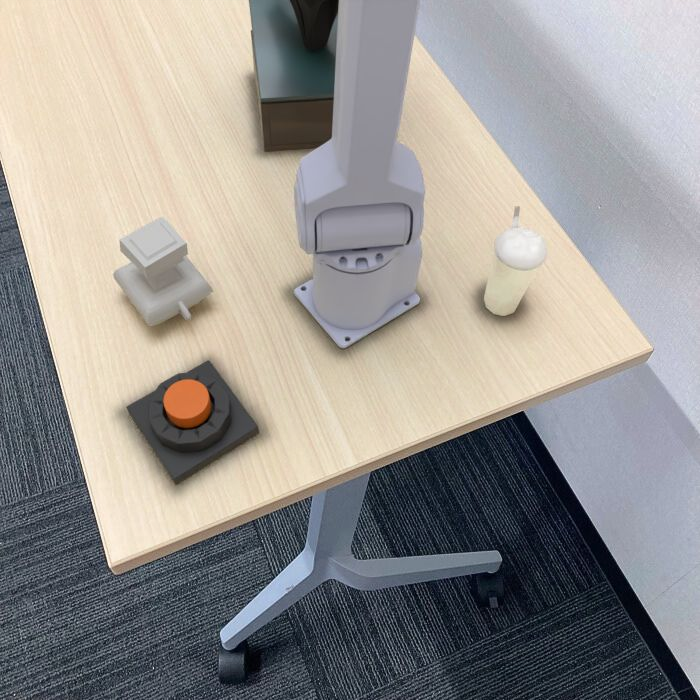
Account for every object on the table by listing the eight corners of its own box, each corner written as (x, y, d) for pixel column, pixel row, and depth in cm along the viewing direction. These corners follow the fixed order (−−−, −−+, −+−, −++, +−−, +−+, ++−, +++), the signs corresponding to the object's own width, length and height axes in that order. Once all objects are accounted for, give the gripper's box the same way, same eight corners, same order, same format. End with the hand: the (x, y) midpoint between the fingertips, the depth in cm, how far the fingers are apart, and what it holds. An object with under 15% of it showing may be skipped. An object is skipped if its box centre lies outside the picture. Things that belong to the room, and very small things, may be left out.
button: (197, 381, 60) (194, 371, 58) (220, 413, 58) (217, 403, 57) (158, 404, 58) (155, 393, 57) (181, 436, 57) (177, 427, 56)
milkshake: (515, 275, 71) (543, 204, 62) (529, 320, 68) (559, 252, 59) (470, 278, 70) (492, 207, 62) (482, 323, 67) (506, 255, 59)
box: (254, 78, 85) (250, 29, 80) (359, 71, 86) (362, 23, 81) (264, 151, 78) (260, 104, 73) (377, 143, 80) (381, 96, 74)
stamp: (112, 286, 68) (89, 225, 61) (174, 254, 70) (158, 192, 63) (161, 350, 64) (142, 294, 57) (224, 315, 67) (213, 257, 59)
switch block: (210, 366, 64) (206, 348, 61) (259, 432, 60) (257, 416, 58) (128, 413, 61) (120, 396, 58) (175, 485, 58) (169, 470, 55)
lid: (247, -12, 76) (246, -17, 75) (364, -17, 77) (365, -23, 76) (260, 103, 73) (260, 98, 72) (381, 95, 74) (382, 90, 74)
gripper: (231, -117, 64) (243, 23, 75) (331, -42, 58) (328, 97, 69) (295, -138, 66) (297, 1, 78) (397, -68, 60) (383, 70, 72)
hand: (315, 45), depth 74 cm, fingers closed
